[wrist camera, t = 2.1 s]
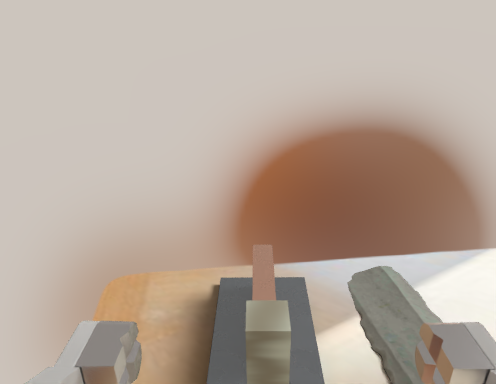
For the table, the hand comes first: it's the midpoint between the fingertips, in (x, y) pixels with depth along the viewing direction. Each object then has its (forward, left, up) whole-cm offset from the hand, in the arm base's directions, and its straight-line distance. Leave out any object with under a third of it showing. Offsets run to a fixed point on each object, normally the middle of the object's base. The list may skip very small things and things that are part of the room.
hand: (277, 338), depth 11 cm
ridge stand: (-5, -27, -27) cm, 38 cm away
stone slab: (-22, -25, -27) cm, 43 cm away
